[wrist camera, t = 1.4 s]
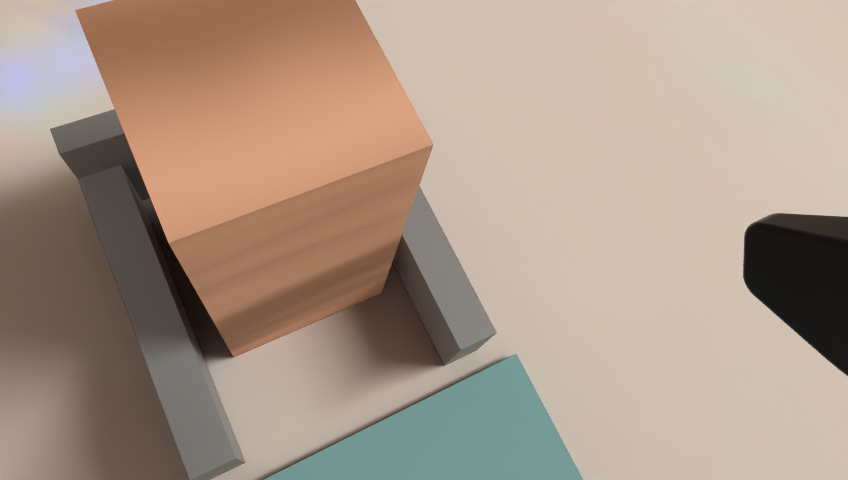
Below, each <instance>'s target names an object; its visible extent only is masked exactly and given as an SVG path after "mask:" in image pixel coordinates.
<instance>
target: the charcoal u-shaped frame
mask: <svg viewBox="0 0 848 480" xmlns="http://www.w3.org/2000/svg"><path fill="white" fill-rule="evenodd" d="M50 130H51V133H52V136H53V138H54V141H55V144H56V147H57V149H58V152H59V154H60V156H61V157H62V158H63V160H64V161H65V162H66V164H67V165H68V166H69V168H70V169H71V170H72V172H73V173H74V174H75V176H76V177H77V179H78V181H79V184H80V186H81V189H82V192H83V194H84V197H85V200H86V202H87V205H88V208H89V210H90V213H91V216H92V219H93V221H94V224H95V227H96V229H97V232H98V235H99V237H100V240H101V243H102V246H103V248H104V251H105V254H106V256H107V259H108V262H109V264H110V267H111V270H112V273H113V275H114V278H115V281H116V283H117V286H118V289H119V291H120V294H121V297H122V299H123V302H124V305H125V308H126V310H127V313H128V316H129V318H130V321H131V324H132V326H133V329H134V332H135V335H136V337H137V340H138V343H139V345H140V348H141V351H142V353H143V356H144V359H145V361H146V364H147V367H148V370H149V372H150V375H151V378H152V380H153V383H154V386H155V388H156V391H157V394H158V397H159V399H160V402H161V405H162V407H163V410H164V413H165V415H166V418H167V421H168V424H169V426H170V429H171V432H172V434H173V437H174V440H175V442H176V445H177V448H178V450H179V453H180V456H181V459H182V461H183V464H184V467H185V469H186V472H187V475H188V477H189V480H210V479H212V478H214V477H216V476H218V475H220V474H222V473H225V472H227V471H229V470H231V469H233V468H235V467H237V466H239V465H241V464H243V463H245V461H244V458H243V456H242V453H241V450H240V448H239V445H238V443H237V440H236V438H235V435H234V433H233V430H232V428H231V425H230V423H229V420H228V418H227V415H226V413H225V410H224V408H223V405H222V403H221V400H220V397H219V395H218V392H217V390H216V387H215V385H214V382H213V380H212V377H211V375H210V372H209V370H208V367H207V365H206V362H205V360H204V357H203V355H202V352H201V350H200V347H199V344H198V342H197V339H196V337H195V334H194V332H193V329H192V327H191V324H190V322H189V319H188V317H187V314H186V312H185V309H184V307H183V304H182V302H181V299H180V297H179V294H178V291H177V289H176V286H175V284H174V281H173V279H172V276H171V274H170V271H169V269H168V266H167V264H166V261H165V259H164V256H163V254H162V251H161V249H160V246H159V244H158V241H157V238H156V236H155V233H154V231H153V228H152V226H151V223H150V221H149V218H148V216H147V213H146V211H145V208H144V206H143V203H142V201H141V200H143V199H146V198H149V197H150V196H149V193H148V191H147V188H146V186H145V183H144V181H143V178H142V176H141V173H140V171H139V168H138V166H137V163H136V161H135V158H134V156H133V153H132V151H131V148H130V146H129V143H128V141H127V138H126V136H125V133H124V131H123V128H122V126H121V123H120V121H119V118H118V116H117V113H116V111H115V109H114V110H111V111H108V112H104V113H101V114H98V115H94V116H91V117H88V118H85V119H81V120H78V121H75V122H72V123H68V124H65V125H62V126H58V127H55V128H52V129H50ZM393 263H394V265H395V267H396V269H397V271H398V273H399V275H400V277H401V279H402V281H403V283H404V285H405V288H406V290H407V292H408V294H409V296H410V298H411V300H412V302H413V304H414V306H415V308H416V310H417V312H418V314H419V316H420V318H421V320H422V322H423V324H424V326H425V328H426V330H427V332H428V334H429V336H430V338H431V340H432V342H433V344H434V346H435V348H436V350H437V352H438V354H439V356H440V358H441V360H442V362H443V364H444V366H445V365H447V364H449V363H451V362H453V361H455V360H457V359H459V358H461V357H463V356H465V355H467V354H470V353H472V352H474V351H476V350H477V349H478V348H480V347H481V346H482V345H483V344H484V343H485V342H487V341H488V340H489V339H490V338H491V337H492V336H493V335H495V334H496V331H495V329H494V327H493V325H492V323H491V321H490V319H489V317H488V315H487V314H486V312H485V310H484V308H483V306H482V304H481V302H480V300H479V298H478V296H477V295H476V293H475V291H474V289H473V287H472V285H471V283H470V281H469V279H468V277H467V276H466V274H465V272H464V270H463V268H462V266H461V264H460V262H459V260H458V258H457V257H456V255H455V253H454V251H453V249H452V247H451V245H450V243H449V241H448V239H447V237H446V236H445V234H444V232H443V230H442V228H441V226H440V224H439V222H438V220H437V218H436V217H435V215H434V213H433V211H432V209H431V207H430V205H429V203H428V201H427V199H426V198H425V196H424V194H423V192H422V190H421V188H420V186H419V187H418V190H417V193H416V196H415V198H414V201H413V204H412V207H411V210H410V213H409V216H408V218H407V221H406V224H405V227H404V230H403V233H402V236H401V239H400V241H399V244H398V247H397V250H396V253H395V256H394V259H393Z"/></svg>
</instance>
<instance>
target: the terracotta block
mask: <svg viewBox="0 0 848 480" xmlns="http://www.w3.org/2000/svg"><path fill="white" fill-rule="evenodd" d="M75 11H76V13H77V16H78V18H79V21H80V23H81V26H82V28H83V31H84V33H85V36H86V38H87V41H88V43H89V46H90V48H91V51H92V53H93V56H94V58H95V61H96V63H97V66H98V68H99V71H100V73H101V76H102V78H103V81H104V83H105V86H106V88H107V91H108V93H109V96H110V98H111V101H112V103H113V106H114V108H115V111H116V113H117V116H118V118H119V121H120V123H121V126H122V128H123V131H124V133H125V136H126V138H127V141H128V143H129V146H130V148H131V151H132V153H133V156H134V158H135V161H136V163H137V166H138V168H139V171H140V173H141V176H142V178H143V181H144V183H145V186H146V188H147V191H148V193H149V196H150V198H151V201H152V203H153V206H154V208H155V211H156V213H157V216H158V218H159V221H160V223H161V226H162V228H163V231H164V233H165V236H166V238H167V241H168V243H169V245H170V247H171V248H172V250H173V252H174V254H175V255H176V257H177V259H178V261H179V262H180V264H181V266H182V268H183V269H184V271H185V273H186V275H187V276H188V278H189V280H190V282H191V283H192V285H193V287H194V289H195V290H196V292H197V294H198V296H199V297H200V299H201V301H202V303H203V304H204V306H205V308H206V310H207V311H208V313H209V315H210V317H211V318H212V320H213V322H214V324H215V325H216V327H217V329H218V331H219V332H220V334H221V336H222V338H223V339H224V341H225V343H226V345H227V346H228V348H229V350H230V352H231V353H232V355H233V357H236V356H238V355H240V354H243V353H245V352H247V351H250V350H252V349H254V348H256V347H259V346H261V345H263V344H266V343H268V342H270V341H273V340H275V339H277V338H279V337H282V336H284V335H286V334H289V333H291V332H293V331H296V330H298V329H300V328H302V327H305V326H307V325H309V324H312V323H314V322H316V321H318V320H321V319H323V318H325V317H328V316H330V315H332V314H335V313H337V312H339V311H341V310H344V309H346V308H348V307H351V306H353V305H355V304H358V303H360V302H362V301H364V300H367V299H369V298H371V297H374V296H376V295H378V294H381V293H382V290H383V287H384V284H385V281H386V279H387V276H388V273H389V270H390V267H391V264H392V261H393V259H394V256H395V253H396V250H397V247H398V244H399V241H400V239H401V236H402V233H403V230H404V227H405V224H406V221H407V218H408V216H409V213H410V210H411V207H412V204H413V201H414V198H415V196H416V193H417V190H418V187H419V184H420V181H421V178H422V176H423V173H424V170H425V167H426V164H427V161H428V158H429V156H430V153H431V150H432V147H433V143H432V141H431V139H430V137H429V136H428V134H427V132H426V130H425V128H424V126H423V124H422V123H421V121H420V119H419V117H418V115H417V113H416V112H415V110H414V108H413V106H412V104H411V102H410V100H409V99H408V97H407V95H406V93H405V91H404V89H403V88H402V86H401V84H400V82H399V80H398V78H397V77H396V75H395V73H394V71H393V69H392V67H391V65H390V64H389V62H388V60H387V58H386V56H385V54H384V53H383V51H382V49H381V47H380V45H379V43H378V42H377V40H376V38H375V36H374V34H373V32H372V30H371V29H370V27H369V25H368V23H367V21H366V19H365V18H364V16H363V14H362V12H361V10H360V8H359V7H358V5H357V3H356V1H355V0H113V1H109V2H105V3H102V4H98V5H94V6H90V7H86V8H82V9H78V10H75Z"/></svg>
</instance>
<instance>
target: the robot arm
mask: <svg viewBox="0 0 848 480" xmlns="http://www.w3.org/2000/svg"><path fill="white" fill-rule="evenodd" d="M743 278H744V281H745V284H746V286H747V288H748V289H749V290H750V292H751V293H752V294H753V295H754V296H755V297H756V298H758V299H759V300H760V301H761V302H762V303H763V304H764V305H766V306H767V307H768V308H769V309H770V310H771V311H772V312H774V313H775V314H776V315H777V316H778V317H779V318H780V319H782V320H783V321H784V322H785V323H786V324H787V325H788V326H789V327H791V328H792V329H793V330H794V331H795V332H796V333H797V334H799V335H800V336H801V337H802V338H803V339H804V340H805V341H807V342H808V343H809V344H810V345H811V346H812V347H813V348H815V349H816V350H817V351H818V352H819V353H820V354H821V355H822V356H824V357H825V358H826V359H827V360H828V361H830V362H831V363H832V364H833V365H834V366H836V367H837V368H838V369H839V370H840V371H842V372H843V373H844V374H846V375H847V376H848V217H839V216H820V215H802V214H783V213H776V214H771V215H768V216H766V217H764V218H762V219H760V220H758V221H756V222H754V223H752V224H751V225H750V226H748V228H747V230H746V232H745V236H744V264H743Z"/></svg>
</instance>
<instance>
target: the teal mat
mask: <svg viewBox="0 0 848 480" xmlns="http://www.w3.org/2000/svg"><path fill="white" fill-rule="evenodd" d="M264 480H583V479H582V477H581V475H580V473H579V471H578V469H577V467H576V465H575V464H574V462H573V460H572V458H571V456H570V454H569V452H568V450H567V448H566V447H565V445H564V443H563V441H562V439H561V437H560V435H559V433H558V432H557V430H556V428H555V426H554V424H553V422H552V420H551V418H550V416H549V415H548V413H547V411H546V409H545V407H544V405H543V403H542V401H541V399H540V398H539V396H538V394H537V392H536V390H535V388H534V386H533V384H532V382H531V381H530V379H529V377H528V375H527V373H526V371H525V369H524V367H523V365H522V364H521V362H520V360H519V358H518V356H517V354H515V355H513V356H511V357H509V358H507V359H505V360H503V361H501V362H499V363H497V364H495V365H493V366H491V367H489V368H487V369H485V370H483V371H481V372H479V373H477V374H475V375H473V376H471V377H469V378H467V379H465V380H463V381H461V382H459V383H457V384H455V385H453V386H451V387H449V388H447V389H445V390H443V391H441V392H439V393H437V394H435V395H433V396H431V397H429V398H427V399H425V400H423V401H421V402H419V403H417V404H415V405H412V406H410V407H408V408H406V409H404V410H402V411H400V412H398V413H396V414H394V415H392V416H390V417H388V418H386V419H384V420H382V421H380V422H378V423H376V424H374V425H372V426H370V427H368V428H366V429H364V430H362V431H360V432H358V433H356V434H354V435H352V436H350V437H348V438H346V439H344V440H342V441H340V442H338V443H336V444H334V445H332V446H330V447H328V448H326V449H324V450H322V451H320V452H318V453H316V454H314V455H312V456H310V457H308V458H306V459H304V460H302V461H300V462H298V463H296V464H294V465H292V466H290V467H288V468H286V469H284V470H282V471H280V472H278V473H276V474H274V475H272V476H270V477H268V478H266V479H264Z"/></svg>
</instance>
